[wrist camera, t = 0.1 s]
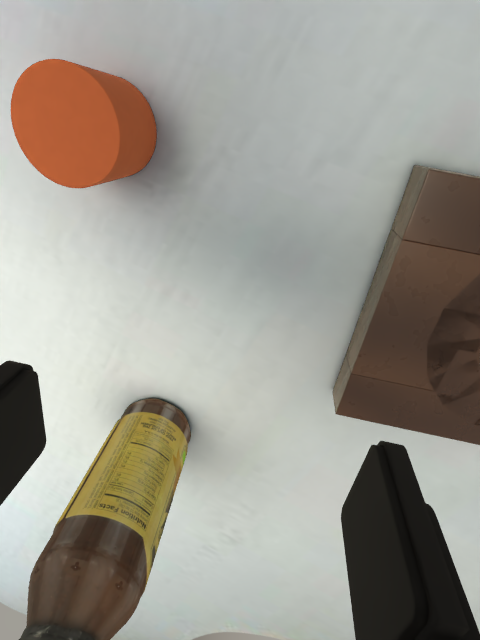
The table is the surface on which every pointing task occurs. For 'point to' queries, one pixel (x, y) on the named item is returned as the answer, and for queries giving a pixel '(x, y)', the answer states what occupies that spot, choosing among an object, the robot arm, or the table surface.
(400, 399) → the back board
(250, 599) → the table surface
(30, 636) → the sauce bottle
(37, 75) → the orange cylinder
